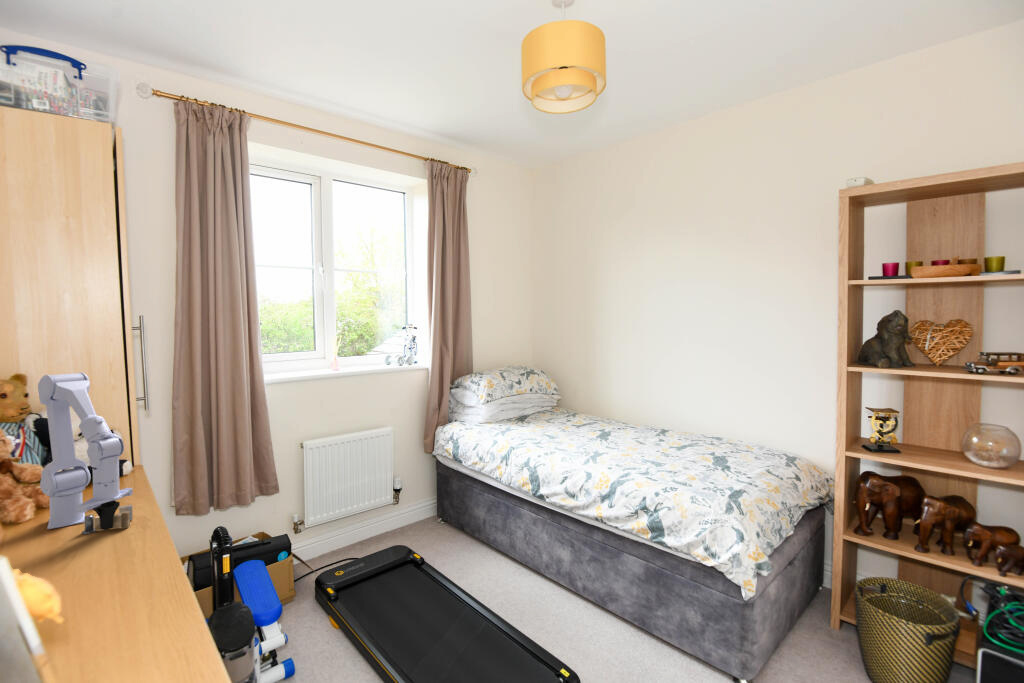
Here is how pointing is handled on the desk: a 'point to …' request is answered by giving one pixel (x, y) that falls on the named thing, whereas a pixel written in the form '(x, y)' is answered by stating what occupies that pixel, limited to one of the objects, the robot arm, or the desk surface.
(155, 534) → the desk surface
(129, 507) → the white-faced wooden block
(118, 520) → the light wooden bar
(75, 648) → the desk surface
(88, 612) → the desk surface
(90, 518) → the pivot post
